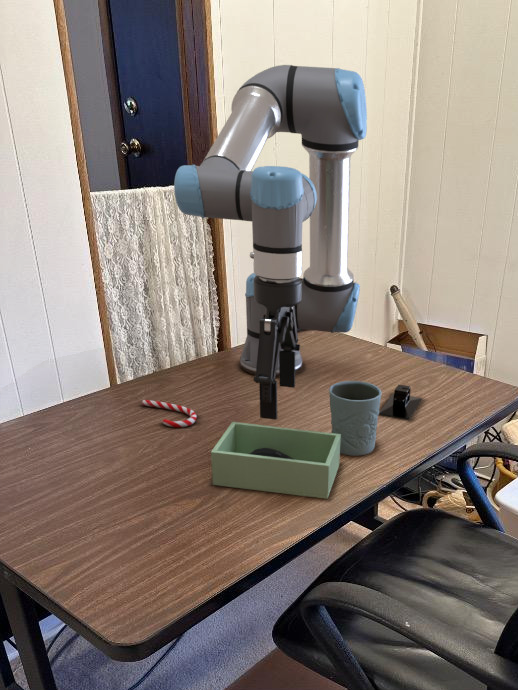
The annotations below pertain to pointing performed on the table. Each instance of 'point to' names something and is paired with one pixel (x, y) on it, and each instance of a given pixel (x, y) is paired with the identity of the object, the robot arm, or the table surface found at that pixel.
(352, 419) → the blue-grey embossed cup
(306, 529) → the table surface
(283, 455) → the gaming mouse
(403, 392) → the black bracket mount
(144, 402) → the candy cane
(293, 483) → the open rectangular box
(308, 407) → the table surface
